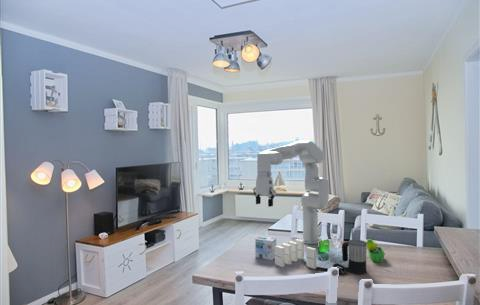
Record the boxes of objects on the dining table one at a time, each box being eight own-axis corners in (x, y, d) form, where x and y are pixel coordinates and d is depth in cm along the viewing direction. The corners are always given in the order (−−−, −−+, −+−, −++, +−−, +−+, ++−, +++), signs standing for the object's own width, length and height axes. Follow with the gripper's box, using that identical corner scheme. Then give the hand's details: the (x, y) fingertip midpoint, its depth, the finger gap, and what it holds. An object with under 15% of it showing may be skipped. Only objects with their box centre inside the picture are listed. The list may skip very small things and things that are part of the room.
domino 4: (296, 256, 192) (296, 239, 191) (304, 258, 188) (303, 240, 188) (294, 257, 190) (294, 239, 190) (301, 259, 187) (301, 241, 186)
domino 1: (277, 263, 181) (277, 245, 180) (284, 266, 177) (284, 247, 177) (275, 264, 179) (274, 246, 179) (282, 267, 176) (282, 248, 175)
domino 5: (308, 265, 178) (308, 246, 177) (316, 267, 174) (316, 248, 174) (306, 266, 176) (306, 247, 176) (314, 268, 173) (314, 249, 172)
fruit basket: (385, 263, 179) (385, 242, 179) (368, 262, 181) (368, 241, 181) (380, 256, 190) (381, 236, 190) (364, 255, 192) (364, 235, 192)
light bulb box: (255, 257, 191) (254, 238, 190) (259, 253, 197) (259, 235, 196) (272, 260, 186) (272, 241, 185) (276, 256, 192) (276, 237, 191)
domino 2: (284, 261, 184) (284, 243, 184) (291, 263, 181) (291, 245, 180) (281, 262, 183) (281, 243, 183) (289, 264, 179) (288, 245, 179)
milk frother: (370, 270, 169) (370, 241, 169) (357, 280, 158) (357, 249, 157) (343, 264, 179) (343, 236, 178) (329, 273, 167) (329, 243, 167)
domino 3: (290, 258, 188) (290, 241, 188) (297, 260, 184) (297, 242, 184) (288, 259, 187) (288, 241, 186) (295, 261, 183) (295, 243, 182)
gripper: (280, 175, 183) (280, 206, 183) (258, 173, 196) (258, 202, 196) (270, 176, 178) (270, 208, 178) (248, 174, 191) (248, 203, 191)
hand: (264, 205), depth 187 cm, fingers open, 9 cm apart
